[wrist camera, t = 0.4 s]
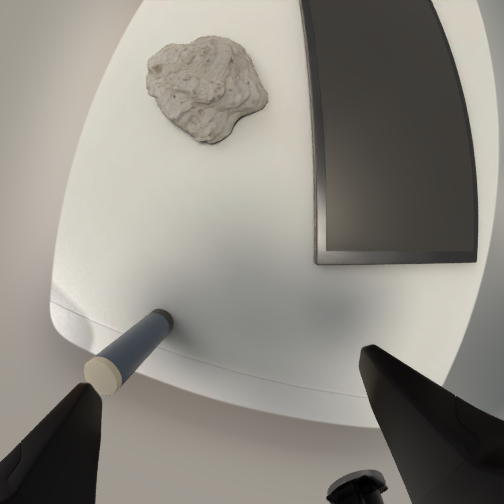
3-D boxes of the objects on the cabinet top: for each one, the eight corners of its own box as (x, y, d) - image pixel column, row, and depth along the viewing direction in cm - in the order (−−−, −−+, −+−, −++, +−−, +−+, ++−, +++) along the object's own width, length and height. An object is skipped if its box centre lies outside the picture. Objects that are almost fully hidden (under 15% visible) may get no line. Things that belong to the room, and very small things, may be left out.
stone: (248, 154, 19) (113, 108, 16) (240, 160, 23) (129, 122, 21) (297, 41, 17) (174, 2, 15) (281, 64, 22) (178, 29, 20)
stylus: (178, 323, 23) (124, 383, 13) (162, 339, 23) (105, 402, 13) (159, 303, 23) (94, 353, 13) (144, 320, 23) (77, 373, 13)
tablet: (470, 261, 21) (477, 262, 20) (313, 263, 22) (316, 265, 20) (418, -16, 18) (421, -21, 16) (293, -39, 18) (293, -45, 17)
